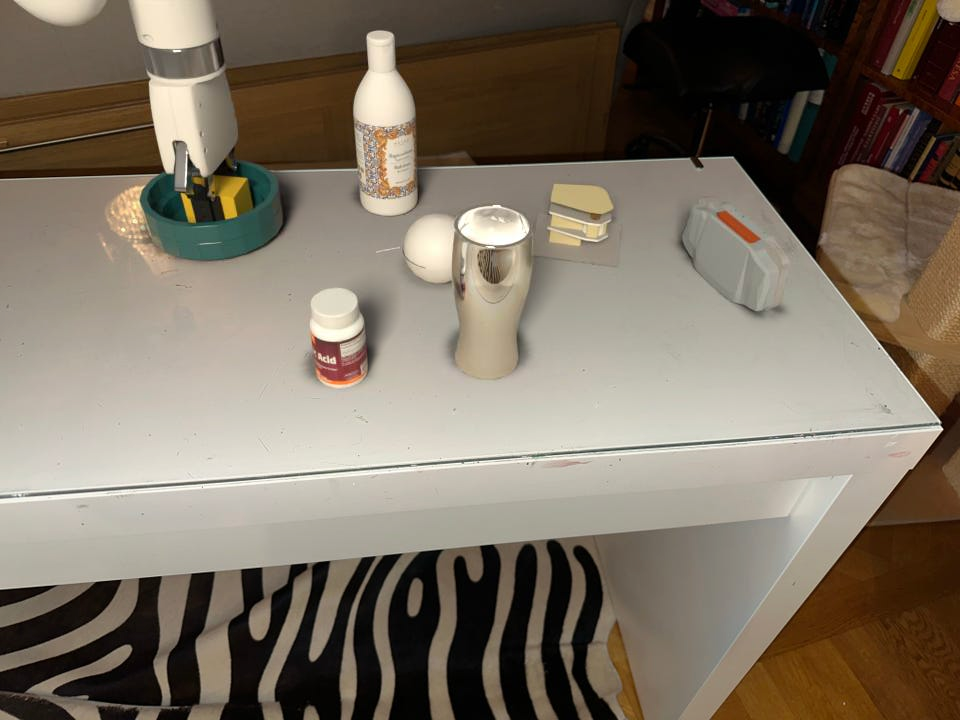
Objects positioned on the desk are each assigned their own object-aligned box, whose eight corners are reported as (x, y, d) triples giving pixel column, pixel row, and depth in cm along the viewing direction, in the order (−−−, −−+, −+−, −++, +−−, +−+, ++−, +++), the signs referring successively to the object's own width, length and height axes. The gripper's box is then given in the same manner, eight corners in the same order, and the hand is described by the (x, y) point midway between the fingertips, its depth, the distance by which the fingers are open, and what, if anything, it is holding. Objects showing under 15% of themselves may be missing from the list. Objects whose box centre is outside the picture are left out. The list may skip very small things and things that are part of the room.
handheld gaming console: (776, 320, 78) (802, 256, 72) (754, 327, 77) (777, 262, 71) (693, 246, 87) (710, 184, 82) (672, 251, 86) (687, 189, 81)
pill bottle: (306, 371, 70) (294, 300, 64) (347, 348, 72) (339, 277, 66) (337, 398, 67) (328, 326, 62) (379, 373, 70) (373, 302, 64)
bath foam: (379, 224, 88) (367, 52, 75) (350, 198, 92) (334, 30, 79) (428, 207, 91) (426, 39, 78) (398, 183, 95) (391, 19, 82)
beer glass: (537, 357, 72) (553, 224, 62) (489, 395, 68) (498, 259, 58) (483, 325, 75) (489, 193, 65) (434, 359, 71) (433, 224, 61)
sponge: (188, 224, 85) (180, 193, 82) (204, 203, 88) (196, 173, 86) (240, 229, 85) (233, 198, 82) (253, 208, 88) (247, 177, 85)
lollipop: (472, 257, 84) (474, 199, 79) (471, 298, 78) (473, 239, 73) (382, 255, 84) (378, 197, 79) (376, 296, 78) (371, 236, 73)
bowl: (128, 258, 82) (115, 219, 78) (183, 190, 92) (174, 153, 89) (259, 272, 81) (251, 232, 77) (299, 202, 91) (294, 164, 88)
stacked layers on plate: (529, 255, 85) (533, 213, 81) (538, 213, 91) (542, 172, 87) (618, 267, 84) (626, 224, 80) (621, 224, 90) (629, 183, 86)
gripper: (181, 22, 80) (216, 176, 93) (105, 86, 68) (157, 253, 80) (249, 28, 80) (275, 181, 92) (185, 93, 68) (225, 260, 80)
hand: (220, 213), depth 86 cm, fingers closed on sponge, 4 cm apart
